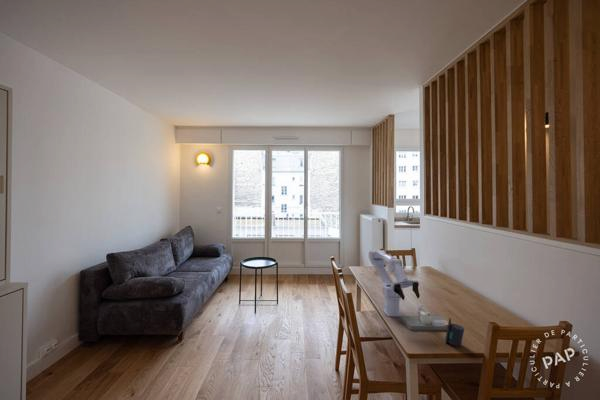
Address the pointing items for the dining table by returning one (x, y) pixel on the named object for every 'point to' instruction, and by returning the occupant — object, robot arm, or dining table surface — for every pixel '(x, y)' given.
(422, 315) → the plug
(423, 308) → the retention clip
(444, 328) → the power strip
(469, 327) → the dining table surface
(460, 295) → the dining table surface
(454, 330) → the speaker
